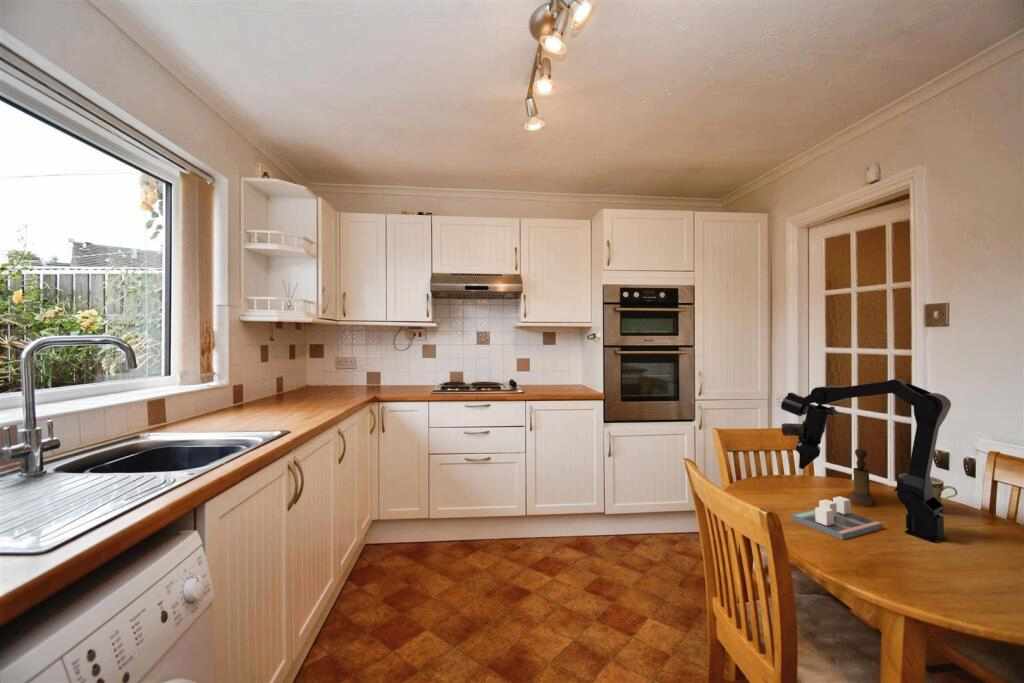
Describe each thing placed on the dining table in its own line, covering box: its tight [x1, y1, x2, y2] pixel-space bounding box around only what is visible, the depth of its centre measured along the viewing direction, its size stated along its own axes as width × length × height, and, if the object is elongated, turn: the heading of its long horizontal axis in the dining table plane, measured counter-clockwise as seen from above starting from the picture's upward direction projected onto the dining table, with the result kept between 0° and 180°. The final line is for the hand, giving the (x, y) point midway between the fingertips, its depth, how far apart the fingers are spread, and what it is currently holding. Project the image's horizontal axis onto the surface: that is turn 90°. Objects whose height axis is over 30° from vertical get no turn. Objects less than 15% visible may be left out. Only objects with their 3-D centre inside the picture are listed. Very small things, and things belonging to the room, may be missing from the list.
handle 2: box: [814, 506, 834, 526], centre depth 115 cm, size 3×3×4 cm
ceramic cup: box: [898, 473, 958, 503], centre depth 126 cm, size 13×10×10 cm
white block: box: [832, 495, 852, 514], centre depth 123 cm, size 3×3×4 cm
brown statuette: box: [848, 448, 876, 507], centre depth 134 cm, size 7×6×18 cm
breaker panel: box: [790, 508, 884, 541], centre depth 118 cm, size 14×18×2 cm
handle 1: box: [818, 499, 837, 517], centre depth 120 cm, size 3×3×4 cm
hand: (801, 463), depth 137 cm, fingers open, 9 cm apart
